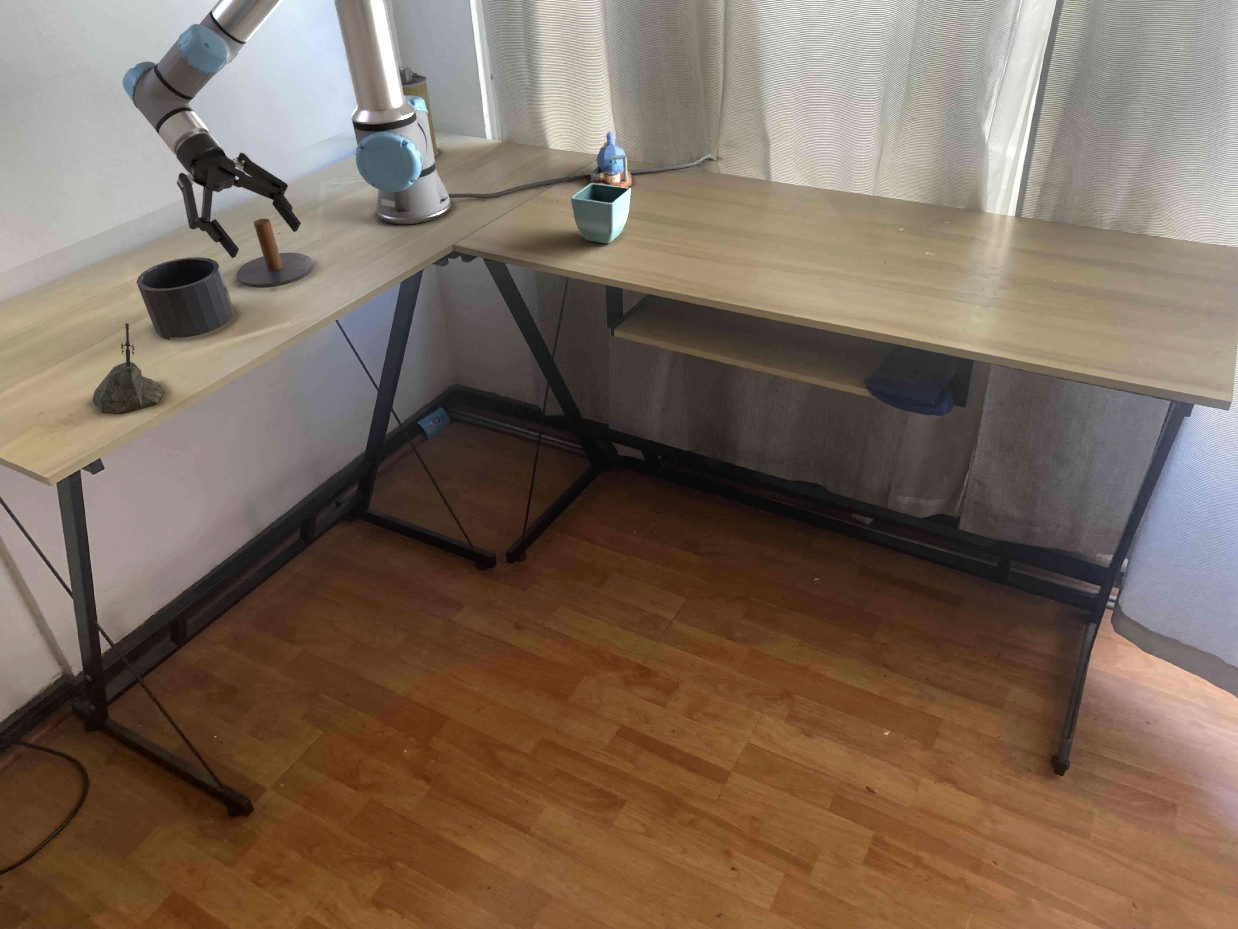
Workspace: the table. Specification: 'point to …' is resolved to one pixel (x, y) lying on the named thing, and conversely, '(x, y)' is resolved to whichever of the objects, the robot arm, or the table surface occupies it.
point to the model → (611, 165)
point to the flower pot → (601, 211)
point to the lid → (273, 262)
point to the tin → (185, 297)
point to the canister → (417, 94)
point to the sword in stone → (126, 387)
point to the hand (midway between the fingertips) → (267, 240)
